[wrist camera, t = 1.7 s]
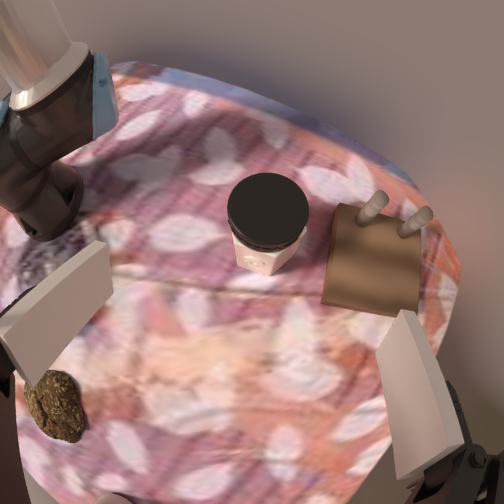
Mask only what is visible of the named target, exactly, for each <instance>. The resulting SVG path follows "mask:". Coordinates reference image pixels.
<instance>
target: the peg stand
mask: <svg viewBox="0 0 504 504" xmlns="http://www.w3.org/2000/svg"><path fill="white" fill-rule="evenodd" d="M388 203H389V197H388V195H387V194H386V193H385V192H384V191H381V190H379V191H376V192H375V194H374V195H373V196H372V197H371V199H370V200H369V201H368V202H367V204H366V205H365V206H364V207H363V209H361V208H358V207H354V206H350V205H347V204H343V203H339V204H338V206H337V208H336V209H335V211H334V215H333V223H332V232H331V240H330V247H329V255H328V262H327V268H326V275H325V281H324V287H323V293H322V299H321V304H324V305H329V306H334V307H340V308H345V309H350V310H356V311H361V312H367V313H372V314H378V315H384V316H389V317H395V318H396V317H397V315H398V314H399V312H400V310H401V309H403V310H409V311H415V314H416V316H417V312H418V302H419V289H420V267H421V227H423V226H424V225H425V224H427V223H428V222H429V221H431V220H432V219H433V212H432V210H431V209H430V208H429V207H428V206H423V207H422V208H421V209H420V210H419V211H418V212H416V213H415V214H414V215H413V216H412V217H411V218H409V219H408V220H407V221H406V222H405V221H402V220H399V219H395V218H392V217H389V216H385V215H382V214H379V212H380V211H381V210H382V209H383V208H384V207H385V206H386V205H387V204H388Z"/></svg>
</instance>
